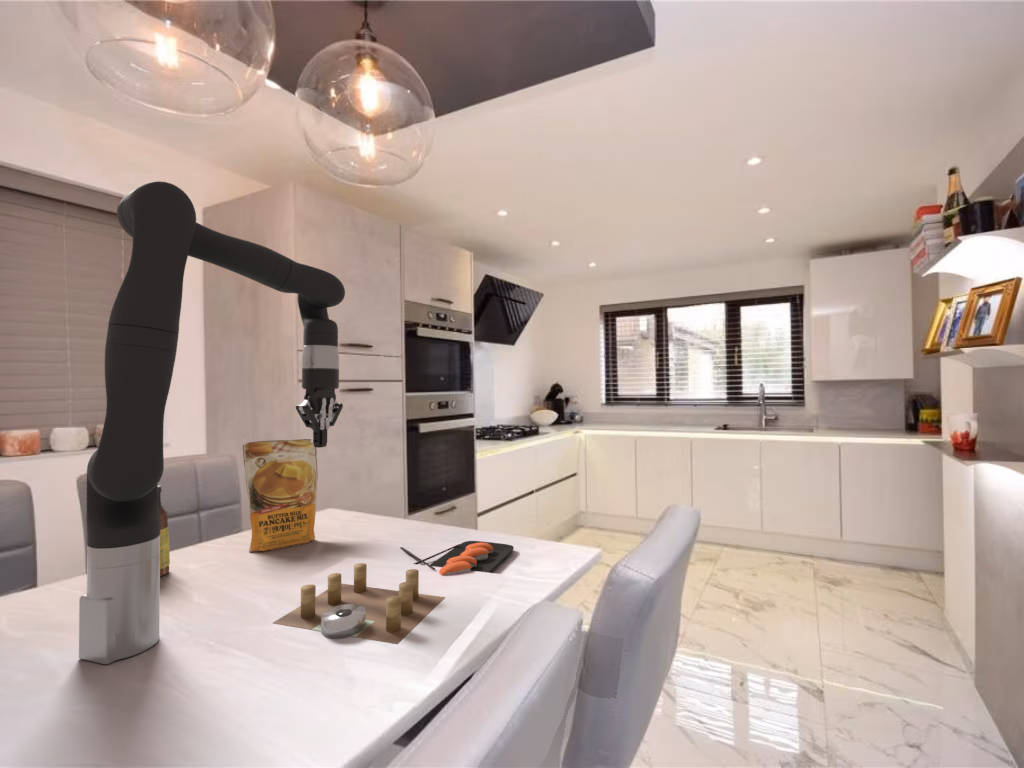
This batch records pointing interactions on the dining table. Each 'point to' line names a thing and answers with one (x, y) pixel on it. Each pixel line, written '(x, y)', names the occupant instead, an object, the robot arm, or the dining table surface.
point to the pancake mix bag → (281, 492)
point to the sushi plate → (469, 557)
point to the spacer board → (366, 605)
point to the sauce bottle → (163, 538)
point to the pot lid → (343, 621)
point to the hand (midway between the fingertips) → (320, 446)
